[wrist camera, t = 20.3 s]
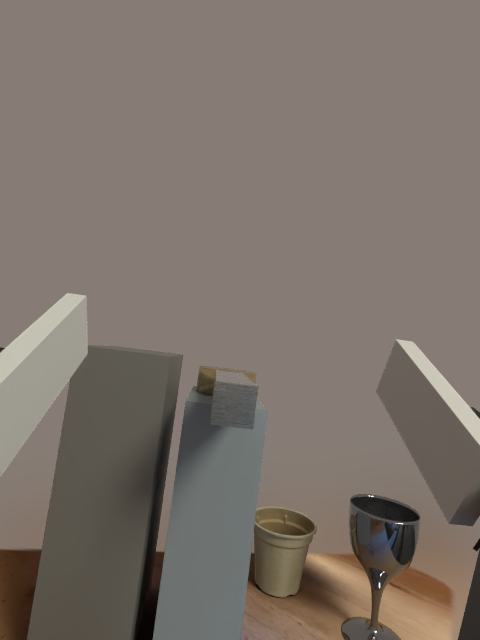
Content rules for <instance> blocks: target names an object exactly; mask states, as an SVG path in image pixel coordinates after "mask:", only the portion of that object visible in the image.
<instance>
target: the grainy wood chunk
mask: <svg viewBox="0 0 480 640" xmlns="http://www.w3.org/2000/svg"><path fill="white" fill-rule="evenodd" d="M255 381H256V373H253V372H247V371H241V370H234V369H227V368H218V367H208V366H200V367H199V374H198V381H197V389H196V392H198V393H201V394H204V395H209V396H212V409H211V424H210V425H219V426H227V427H236V428H244V429H253V427H254V418H255V410H256V402H257V394H258V386H257V385H256V384H255Z"/></svg>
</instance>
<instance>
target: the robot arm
mask: <svg viewBox="0 0 480 640" xmlns="http://www.w3.org/2000/svg"><path fill="white" fill-rule="evenodd" d="M86 298H87V296H84V295H76V294H69V293H67V294H66V295H65V296H64V297H63V298H61V299H60V300H59V301H58V302H57V303H56V304H55V305H53V306H52V307H51V308H50V309H49V310H48V311H47V312H46V313H44V314H43V315H42V316H41V317H40V318H39V319H38V320H37V321H35V322H34V323H33V324H32V325H31V326H30V327H29V328H28V329H26V330H25V331H24V332H23V333H22V334H21V335H20V336H19V337H17V338H16V339H15V340H14V341H13V342H12V343H11V344H10V345H9V346H7V347H6V348H0V476H1V475H2V474H3V472H4V471H5V470H6V468H7V467H8V465H9V464H10V463H11V461H12V460H13V458H14V457H15V456H16V454H17V453H18V451H19V450H20V448H21V447H22V446H23V444H24V443H25V441H26V440H27V439H28V437H29V436H30V434H31V433H32V432H33V430H34V429H35V427H36V426H37V425H38V423H39V422H40V420H41V419H42V418H43V416H44V415H45V413H46V412H47V410H48V409H49V407H50V406H51V405H52V403H53V402H54V401H55V399H56V398H57V396H58V395H59V393H60V392H61V391H62V389H63V388H64V387H65V385H66V383H67V382H68V381H69V379H70V378H71V377H72V375H73V374H74V372H75V371H76V370H77V368H78V367H79V365H80V364H81V363H82V361H83V360H84V358H85V357H86V356H87V354H88V341H87V299H86ZM376 392H377V394H378V395H379V397H380V399H381V401H382V403H383V405H384V406H385V408H386V410H387V412H388V413H389V415H390V417H391V419H392V421H393V423H394V425H395V426H396V428H397V430H398V432H399V434H400V436H401V437H402V439H403V441H404V443H405V445H406V446H407V448H408V450H409V452H410V454H411V456H412V458H413V459H414V461H415V463H416V465H417V467H418V468H419V470H420V472H421V474H422V476H423V478H424V479H425V481H426V483H427V485H428V487H429V488H430V490H431V492H432V494H433V496H434V498H435V499H436V501H437V503H438V505H439V507H440V509H441V510H442V512H443V514H444V516H445V518H446V519H447V521H448V523H449V524H456V525H466V526H473V525H474V524H475V522H476V520H477V519H478V517H479V516H480V412H478V411H477V410H476V409H474V408H473V407H469V406H468V405H467V404H466V402H465V401H464V400H463V399H462V398H461V397H460V396H459V394H458V393H457V392H456V391H455V390H454V389H453V387H452V386H451V385H450V384H449V383H448V382H447V380H446V379H445V378H444V377H443V376H442V375H441V374H440V372H439V371H438V370H437V369H436V368H435V367H434V366H433V364H432V363H431V362H430V361H429V360H428V359H427V358H426V356H425V355H424V354H423V353H422V352H421V350H420V349H419V348H418V347H417V346H416V345H415V343H414V342H411V341H404V340H397V339H396V341H395V343H394V346H393V348H392V351H391V354H390V356H389V359H388V362H387V364H386V367H385V369H384V372H383V375H382V377H381V380H380V382H379V385H378V388H377V390H376ZM479 548H480V539H479V540H478V542H477V543H476V545H475V546H474V548H473V549H474V550H476V551H478V549H479ZM458 640H480V550H479V554H478V558H477V562H476V567H475V571H474V575H473V579H472V583H471V587H470V592H469V596H468V600H467V604H466V608H465V612H464V617H463V621H462V625H461V629H460V633H459V637H458Z"/></svg>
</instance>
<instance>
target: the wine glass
mask: <svg viewBox="0 0 480 640" xmlns="http://www.w3.org/2000/svg"><path fill="white" fill-rule="evenodd" d="M419 528H420V515H419V513H418V512H417V511H416V510H414V509H413V508H411V507H410V506H408V505H406V504H404V503H401V502H399V501H396V500H393V499H390V498H386V497H382V496H377V495H370V494H358V495H354V496H352V497H351V499H350V507H349V535H350V542H351V546H352V550H353V552H354V554H355V556H356V558H357V560H358V561H359V563H360V564H361V566H362V568H363V569H364V571H365V573H366V574H367V577H368V579H369V582H370V585H371V594H372V612H371V619H369V618H365V617H352V618H349V619H347V620H346V621H345V622H344V623H343V625H342V629H341V630H342V634H343V637H344V639H345V640H401V639H400V638H399V636H398V635H397V634H396V633H395V632H394V631H392V630H391V629H390V628H388V627H387V626H385V625H384V624H382V623H380V622H378V614H379V607H380V602H381V597H382V593H383V590H384V589H385V587H386V586H387V584H388V583H389V582H390V581H392V580H393V579H395V578H396V577H397V576H399V575H400V574H402V573H403V572H404V571H405V570H406V569H407V568H408V567H409V566H410V564H411V562H412V560H413V557H414V554H415V550H416V546H417V542H418V536H419Z"/></svg>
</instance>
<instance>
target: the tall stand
mask: <svg viewBox="0 0 480 640" xmlns="http://www.w3.org/2000/svg"><path fill="white" fill-rule="evenodd" d="M182 360H183V355H180V354H172V353H163V352H155V351H148V350H140V349H132V348H124V347H115V346H93V345H88V354H87V356H86V357H85V358H84V360H83V361H82V363H81V364H80V365H79V367H78V368H77V370H76V371H75V372H74V374H73V375H72V377H71V378H70V384H69V390H68V396H67V402H66V408H65V414H64V420H63V426H62V432H61V438H60V444H59V450H58V456H57V462H56V468H55V474H54V480H53V486H52V492H51V498H50V504H49V510H48V516H47V522H46V528H45V534H44V540H43V546H42V552H41V558H40V564H39V570H38V576H37V582H36V588H35V594H34V600H33V606H32V612H31V618H30V624H29V630H28V636H27V640H137V636H138V632H139V628H140V625H141V621H142V617H143V613H144V610H145V606H146V602H147V598H148V595H149V591H150V587H151V581H152V573H153V566H154V559H155V552H156V545H157V538H158V531H159V524H160V516H161V509H162V502H163V494H164V488H165V481H166V474H167V467H168V459H169V452H170V445H171V438H172V431H173V423H174V417H175V409H176V402H177V395H178V388H179V381H180V374H181V366H182Z"/></svg>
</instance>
